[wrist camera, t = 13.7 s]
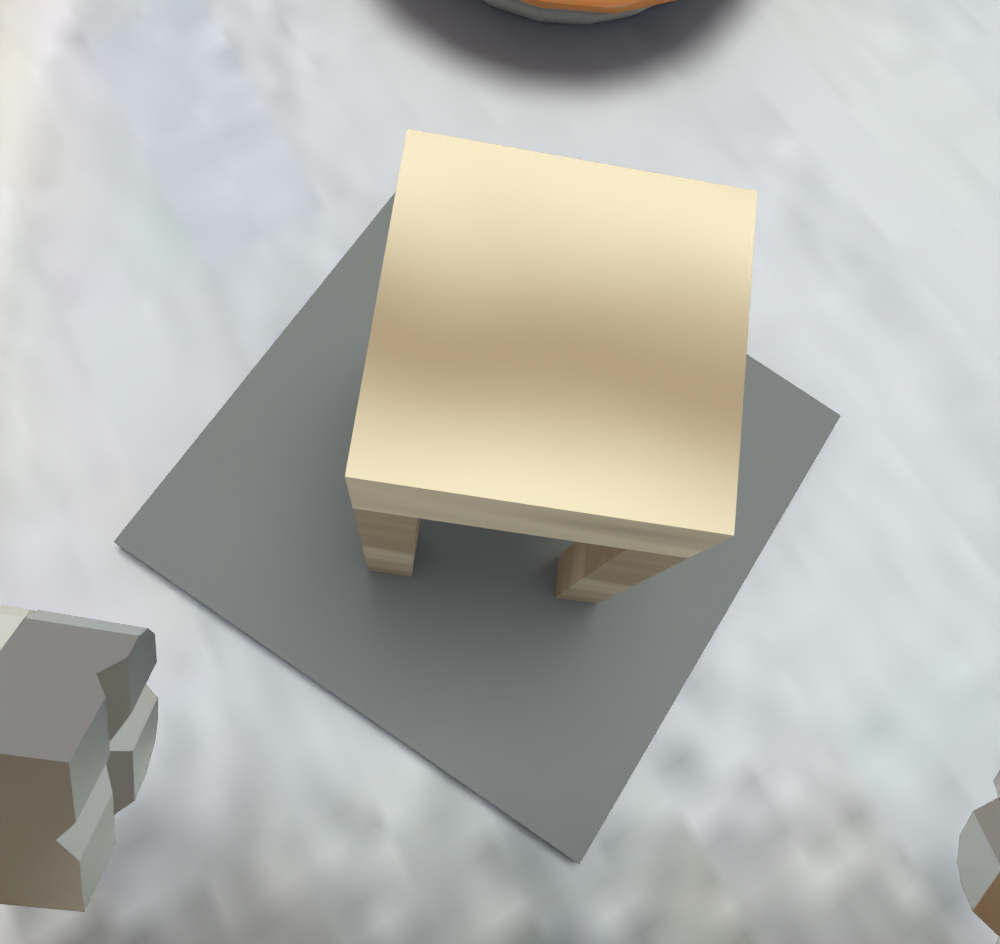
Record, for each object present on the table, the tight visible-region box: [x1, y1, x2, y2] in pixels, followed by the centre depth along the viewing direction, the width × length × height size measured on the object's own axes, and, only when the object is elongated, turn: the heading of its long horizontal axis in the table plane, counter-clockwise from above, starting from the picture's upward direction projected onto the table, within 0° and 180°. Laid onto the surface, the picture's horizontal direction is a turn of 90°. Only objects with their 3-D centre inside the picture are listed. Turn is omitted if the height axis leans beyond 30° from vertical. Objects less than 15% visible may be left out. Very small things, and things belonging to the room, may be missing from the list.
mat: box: [114, 192, 840, 864], centre depth 27 cm, size 15×15×1 cm
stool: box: [345, 129, 757, 604], centre depth 21 cm, size 6×6×11 cm
